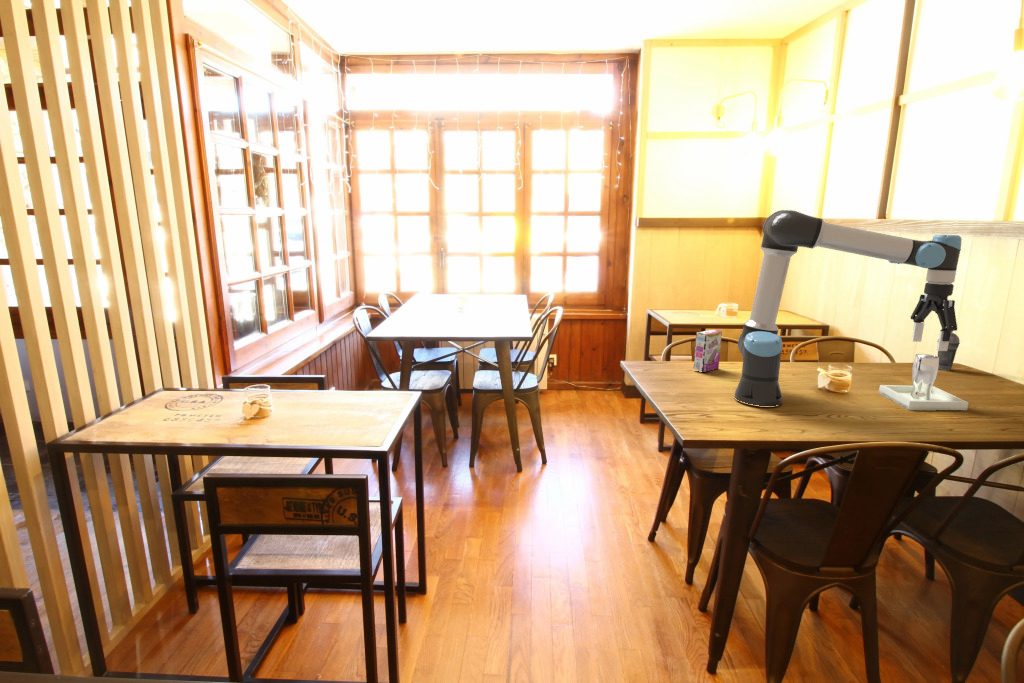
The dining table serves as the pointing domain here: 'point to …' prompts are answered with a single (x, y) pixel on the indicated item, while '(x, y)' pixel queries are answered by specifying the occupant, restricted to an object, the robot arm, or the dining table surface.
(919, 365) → the beer glass
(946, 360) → the beverage cup
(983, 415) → the dining table surface
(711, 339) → the candy bar box
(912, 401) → the tray
